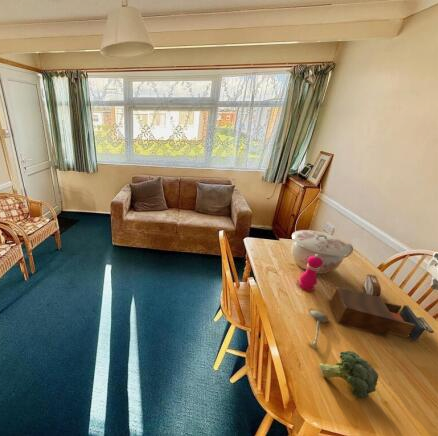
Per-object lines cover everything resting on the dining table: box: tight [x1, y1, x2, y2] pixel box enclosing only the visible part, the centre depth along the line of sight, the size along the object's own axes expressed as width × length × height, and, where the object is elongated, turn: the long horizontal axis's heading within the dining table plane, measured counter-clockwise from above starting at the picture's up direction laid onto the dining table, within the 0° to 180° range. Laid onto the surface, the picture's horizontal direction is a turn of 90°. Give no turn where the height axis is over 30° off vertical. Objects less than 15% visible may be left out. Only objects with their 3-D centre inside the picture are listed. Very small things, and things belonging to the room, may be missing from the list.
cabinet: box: [330, 286, 395, 337], centre depth 99 cm, size 16×14×9 cm
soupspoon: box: [310, 309, 329, 349], centre depth 95 cm, size 22×3×7 cm
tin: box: [363, 274, 382, 297], centre depth 112 cm, size 15×3×8 cm, turn 148°
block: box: [390, 312, 404, 321], centre depth 95 cm, size 4×4×4 cm
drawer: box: [383, 300, 435, 343], centre depth 94 cm, size 19×12×7 cm, turn 66°
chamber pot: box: [290, 229, 354, 274], centre depth 130 cm, size 28×28×21 cm
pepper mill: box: [298, 254, 323, 291], centre depth 115 cm, size 7×7×20 cm
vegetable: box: [318, 350, 379, 399], centre depth 75 cm, size 12×13×15 cm
